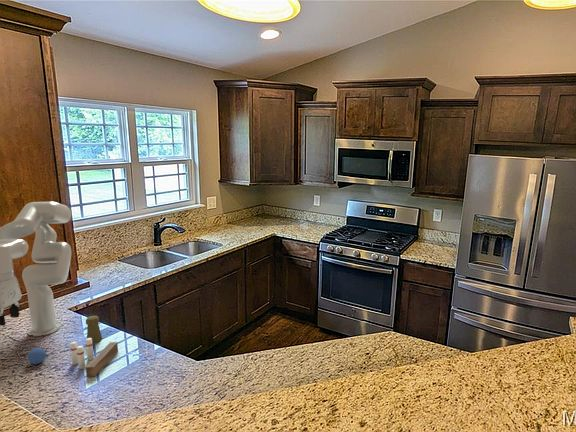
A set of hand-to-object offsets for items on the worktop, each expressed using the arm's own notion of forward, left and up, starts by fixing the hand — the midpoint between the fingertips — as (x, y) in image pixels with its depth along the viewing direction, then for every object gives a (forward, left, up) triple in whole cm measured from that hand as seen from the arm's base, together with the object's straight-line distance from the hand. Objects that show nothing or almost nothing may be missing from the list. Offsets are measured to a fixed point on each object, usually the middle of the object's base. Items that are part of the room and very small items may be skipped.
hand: (8, 320), depth 141 cm
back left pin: (+12, +26, -18) cm, 34 cm away
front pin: (+12, +21, -18) cm, 30 cm away
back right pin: (+17, +23, -18) cm, 34 cm away
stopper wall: (+18, +31, -18) cm, 40 cm away
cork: (-4, +28, -18) cm, 34 cm away
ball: (+5, +8, -15) cm, 17 cm away
